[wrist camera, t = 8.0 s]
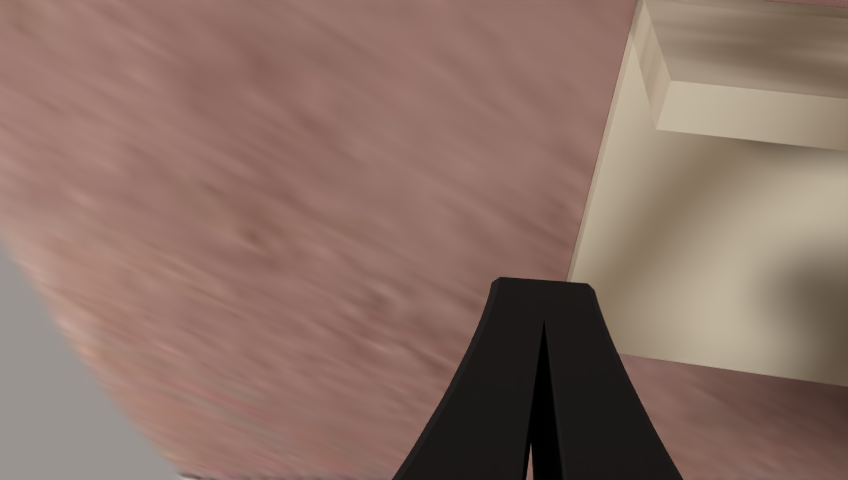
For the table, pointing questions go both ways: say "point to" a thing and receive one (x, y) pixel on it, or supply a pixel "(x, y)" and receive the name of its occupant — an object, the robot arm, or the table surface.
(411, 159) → the table surface
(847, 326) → the wooden open box
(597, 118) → the table surface
